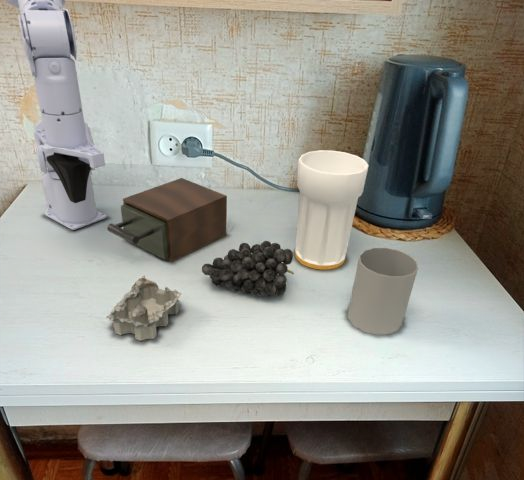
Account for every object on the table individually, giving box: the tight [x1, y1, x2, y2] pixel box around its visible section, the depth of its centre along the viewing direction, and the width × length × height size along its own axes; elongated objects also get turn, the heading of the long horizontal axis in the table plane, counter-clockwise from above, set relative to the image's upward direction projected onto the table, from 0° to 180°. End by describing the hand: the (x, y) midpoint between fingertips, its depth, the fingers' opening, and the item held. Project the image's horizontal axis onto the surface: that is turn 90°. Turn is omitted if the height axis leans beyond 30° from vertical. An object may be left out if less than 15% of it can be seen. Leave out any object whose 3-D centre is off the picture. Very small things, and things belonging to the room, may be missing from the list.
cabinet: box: [122, 177, 228, 263], centre depth 93 cm, size 14×12×8 cm
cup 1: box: [294, 149, 370, 271], centre depth 87 cm, size 11×11×17 cm
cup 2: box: [347, 247, 419, 336], centre depth 76 cm, size 8×8×10 cm
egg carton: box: [105, 275, 182, 342], centre depth 74 cm, size 11×8×4 cm
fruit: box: [201, 240, 295, 298], centre depth 81 cm, size 9×8×15 cm
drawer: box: [106, 204, 169, 260], centre depth 91 cm, size 18×10×6 cm, turn 141°
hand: (78, 200), depth 82 cm, fingers closed
